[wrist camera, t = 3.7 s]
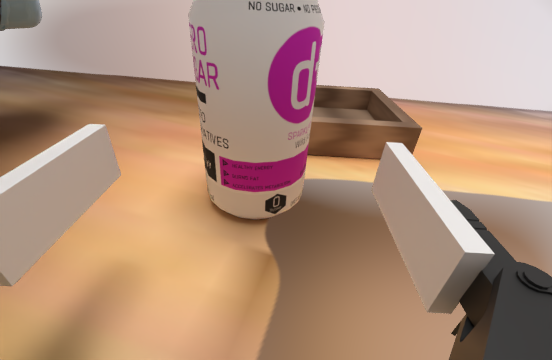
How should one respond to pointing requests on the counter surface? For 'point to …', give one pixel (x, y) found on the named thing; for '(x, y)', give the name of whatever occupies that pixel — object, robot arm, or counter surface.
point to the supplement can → (255, 99)
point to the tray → (358, 123)
